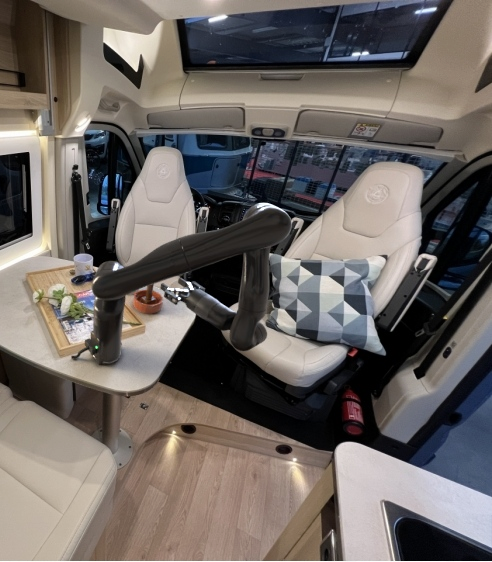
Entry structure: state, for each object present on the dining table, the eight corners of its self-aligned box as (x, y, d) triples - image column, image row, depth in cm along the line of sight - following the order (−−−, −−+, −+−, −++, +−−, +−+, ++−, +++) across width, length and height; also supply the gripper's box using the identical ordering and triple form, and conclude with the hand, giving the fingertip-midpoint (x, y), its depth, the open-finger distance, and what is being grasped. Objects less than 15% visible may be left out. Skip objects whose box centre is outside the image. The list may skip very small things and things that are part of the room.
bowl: (144, 317, 116) (145, 308, 114) (127, 302, 125) (128, 293, 123) (167, 309, 122) (168, 300, 120) (149, 295, 131) (150, 287, 129)
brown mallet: (146, 308, 121) (149, 279, 114) (140, 304, 123) (144, 275, 116) (155, 305, 123) (159, 276, 116) (149, 301, 126) (153, 272, 119)
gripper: (221, 290, 95) (186, 269, 106) (190, 301, 88) (156, 278, 99) (215, 309, 99) (182, 287, 110) (186, 321, 91) (153, 296, 103)
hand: (170, 282), depth 105 cm, fingers open, 8 cm apart
